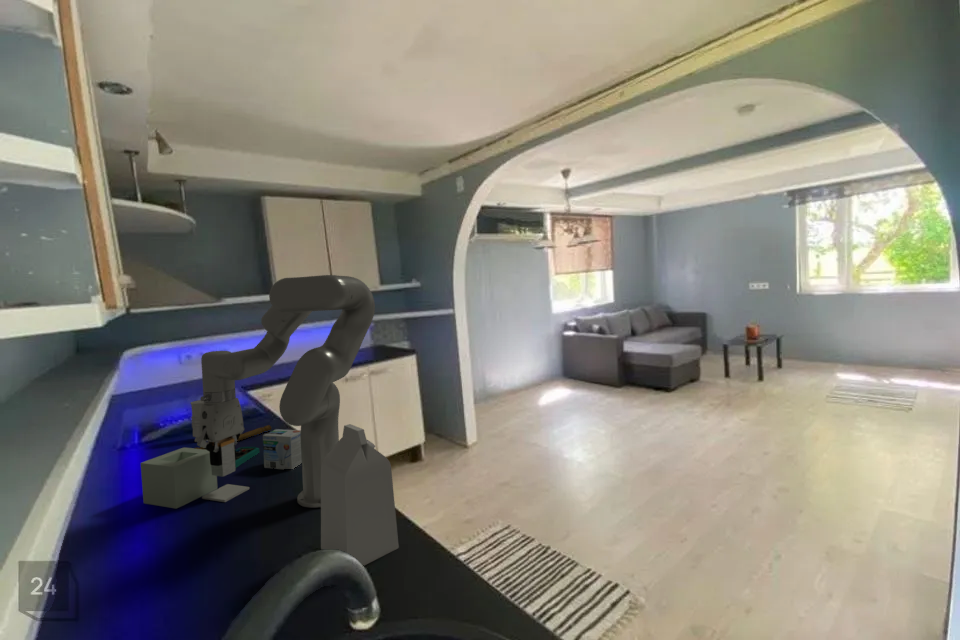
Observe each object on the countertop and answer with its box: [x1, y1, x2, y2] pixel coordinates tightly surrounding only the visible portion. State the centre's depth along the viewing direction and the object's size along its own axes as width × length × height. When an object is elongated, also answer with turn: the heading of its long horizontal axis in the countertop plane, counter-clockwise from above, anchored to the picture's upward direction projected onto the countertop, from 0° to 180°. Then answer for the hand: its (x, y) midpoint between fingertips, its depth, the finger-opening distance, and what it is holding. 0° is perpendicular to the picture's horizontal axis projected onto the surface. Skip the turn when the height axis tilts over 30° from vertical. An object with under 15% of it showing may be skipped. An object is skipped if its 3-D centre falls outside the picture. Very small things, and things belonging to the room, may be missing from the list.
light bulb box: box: [262, 428, 302, 470], centre depth 138 cm, size 11×7×11 cm, turn 76°
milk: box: [320, 424, 400, 566], centre depth 90 cm, size 12×12×26 cm
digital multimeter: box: [235, 446, 260, 469], centre depth 144 cm, size 7×15×3 cm, turn 176°
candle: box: [189, 399, 208, 443], centre depth 168 cm, size 7×7×15 cm
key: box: [211, 438, 237, 477], centre depth 119 cm, size 4×4×9 cm
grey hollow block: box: [140, 447, 219, 510], centre depth 119 cm, size 12×12×11 cm
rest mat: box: [201, 483, 250, 503], centre depth 119 cm, size 8×8×1 cm
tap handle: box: [194, 424, 272, 450], centre depth 163 cm, size 3×3×30 cm
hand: (223, 461), depth 119 cm, fingers closed on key, 4 cm apart
